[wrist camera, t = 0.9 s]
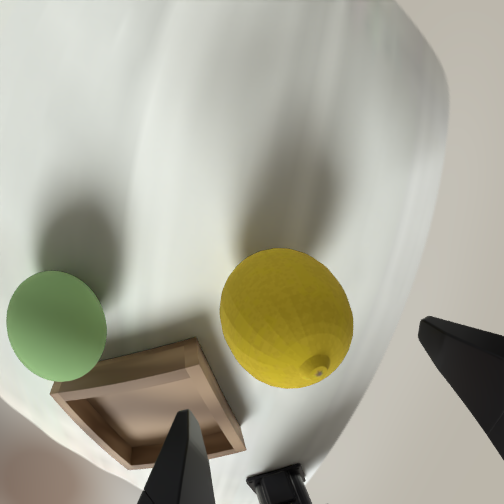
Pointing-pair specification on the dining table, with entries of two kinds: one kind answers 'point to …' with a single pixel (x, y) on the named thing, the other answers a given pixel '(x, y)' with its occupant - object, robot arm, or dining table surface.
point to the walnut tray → (150, 403)
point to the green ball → (56, 326)
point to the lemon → (286, 318)
